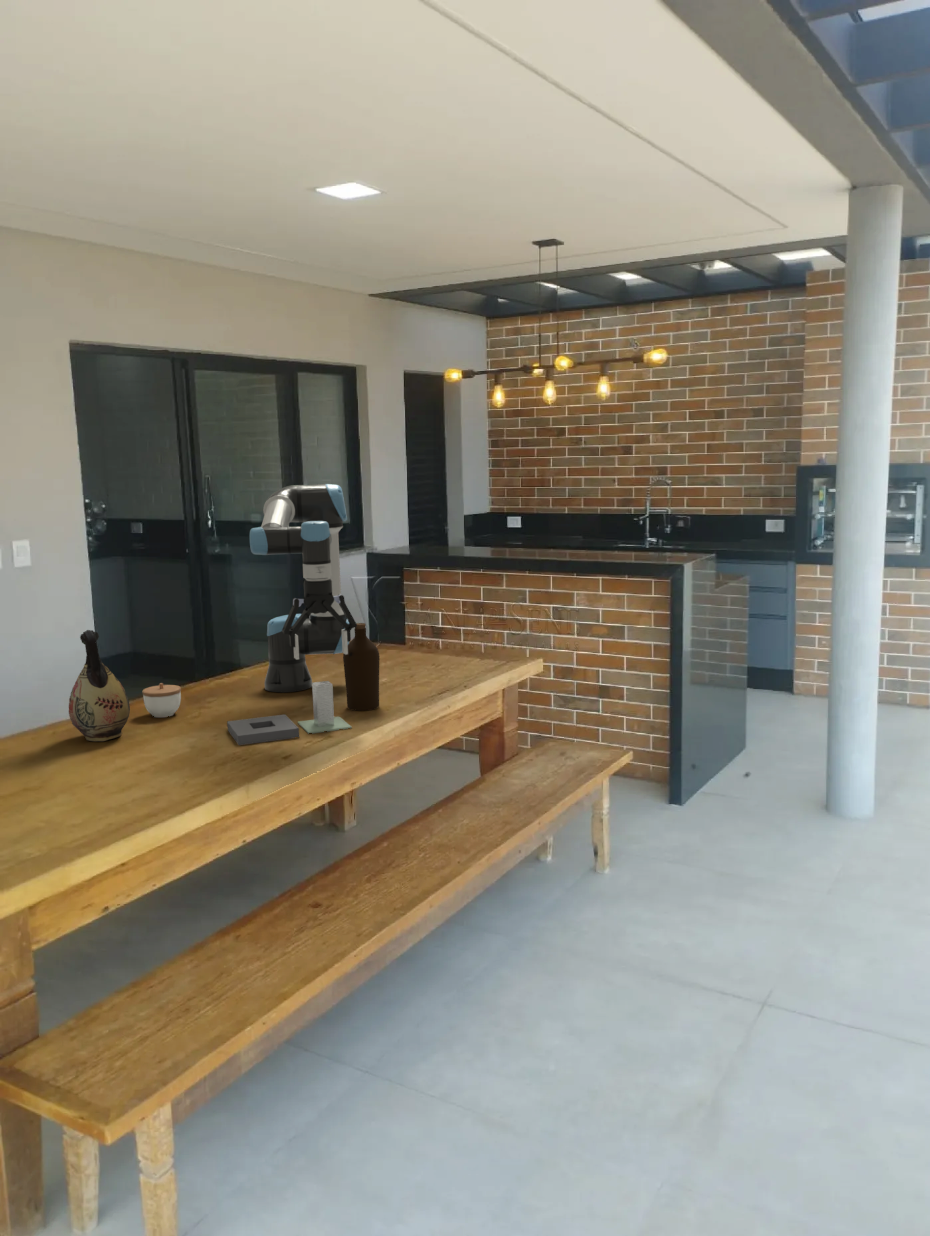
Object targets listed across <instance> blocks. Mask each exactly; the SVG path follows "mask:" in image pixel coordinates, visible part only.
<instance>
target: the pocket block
mask: <svg viewBox="0 0 930 1236" xmlns="http://www.w3.org/2000/svg"><path fill="white" fill-rule="evenodd" d="M226 722H227V723H226V724H227V731H228V733H229V734H230V735H231V737H232V738H233V740H234V741H235V743H236V744H237V745H238V746H243V745H250V744H257V743H266V742H274V741H281V740H288V739H296V738H295V737H298V738H300V729H299V726H297V725H296V724H295V723H294V721H292V720H291V719H290V718H289V717H288V716H287V714H276V715H269V716H261V717H260V716H259V717H252V718H245V719H236V720H227V721H226Z"/></svg>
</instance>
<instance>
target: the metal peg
mask: <svg viewBox="0 0 930 1236" xmlns="http://www.w3.org/2000/svg"><path fill="white" fill-rule="evenodd" d="M333 686H334V684H333V683H331V682H330V681H329V680H325V681H324V680H322V681H315V682H314V681H313V682H312V687H311V688H312V704H313V705H312V706H313V707H312V708H313V720H314V724H316V725H317V726H318V727H323V726H331V725H334V717H335V714H334V713H335V711H334V688H333Z"/></svg>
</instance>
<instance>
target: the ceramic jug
mask: <svg viewBox="0 0 930 1236" xmlns="http://www.w3.org/2000/svg"><path fill="white" fill-rule="evenodd" d="M79 638H80V640H81V643H82V644H84V647H85V653H86V656H85V663H84V665H83V668H82V670H80V673H79V674H78V675H77V676H78V677H77V679H76V681H75V683H74V685H73V687H72V689H71V692H70V696H69V699H68V716H69V720H70V721H71V724H72V725H73V727H74V728H76V729H77V730H78V731H79V732H80V733H81V734H82V736H84V737H85V740H86V741H90V742H106V741H108V740H112V739H116V738H118V737H121V736H122V734H123V733H122V730H123V728H124V727H125V726H126V723H127V722H128V720H129V717H130V713H131V707H130V706H131V705H130V700H129V697H128V695H127V692H126V690H125V687H123V685H122V683H121V681H119V679H118V678H117V677H116V676H115V674H114V673H113V672H112V671H111V670H110V669H109V668H108V666H106V665H105V664H104V663H103V661H102V659H101V657H100V653H99V647H98V643H97V642H98V640H99V638H100V635H99V632H97V631H94V630H91V629H87V630H86V631H83V633H82V634H80V635H79Z"/></svg>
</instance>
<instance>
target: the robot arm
mask: <svg viewBox="0 0 930 1236" xmlns="http://www.w3.org/2000/svg"><path fill="white" fill-rule="evenodd" d="M262 512H263V515H264V516H263V519H262V523H261V526H258V527H252V528H251V529H250V530H249V546H250V552H251V553H252V554H253V555H259V556H260V555H262V556H268V555H269V556H270V555H271V556H272V555H291V554H292V555H293V554H294V555H296V554H299V555H300V554H302V576H303V579H304V581H303V598H296V597H294V598H292V603H291V605H292V606H291V607H290V610H289V613H288V614H285V615H280V616H276V617H273V618H272V619H270V620H269V621H268V622H267V628H266V629H267V630H266V636H267V649H268V650H267V651H268V667H267V672H266V675H265V677H264V678H265V679H264V689H265V691H268V692H271V693H272V692H273V693H292V692H293V693H294V692H300V691H305V690H308V689H311V688H312V683H313V678H312V676H311V673H310V670H309V668H308V665H307V662H306V660H307V659H306V655H308V656H309V655H331V654H333V655H336V654H348V644H349V643H350V642H351V641H352V639H351V638H352V637H351V631H352V629H355V627H357V624H356V623H357V622H356V620H355V619H354V617H353V615H352V613H351V611H350V610H349V608H348V606H347V604H346V599H345V596H344V595H343V594H342V591H341V590H342V589H341V587H342V586H341V583H342V582H341V567H340V544H339V541H340V540H339V532H340V531H341V529H342V530H343V528H344V525H343V524H344V522H346V521H348V516H347V509H346V503H345V498H344V492H343V488H342V487H341V486H340V485H339V484H333V483H332V484H331V483H324V484H323V483H322V484H321V483H320V484H318V483H317V484H295V485H294V484H292V485H287V486H284V487H282V488H280V489H278V490H276V491H275V492H273V493H271V495H269V496H268V497H267V499H266V500H265V502H264V504H263V511H262ZM290 523H301V526H297V525H296V526H290ZM302 604H303V605H304V606H305V608H304V609H303V610H302V613H298V611H299V608H300V607H301V606H302ZM309 617H310V618H309Z"/></svg>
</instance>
